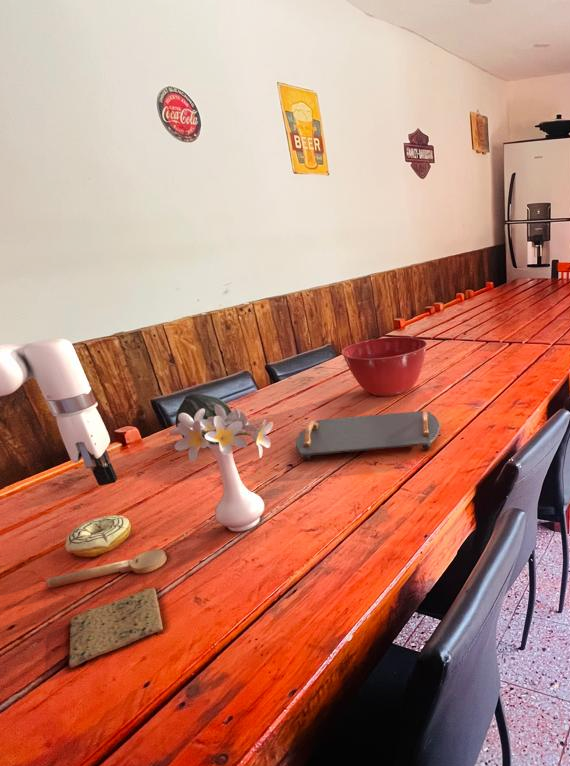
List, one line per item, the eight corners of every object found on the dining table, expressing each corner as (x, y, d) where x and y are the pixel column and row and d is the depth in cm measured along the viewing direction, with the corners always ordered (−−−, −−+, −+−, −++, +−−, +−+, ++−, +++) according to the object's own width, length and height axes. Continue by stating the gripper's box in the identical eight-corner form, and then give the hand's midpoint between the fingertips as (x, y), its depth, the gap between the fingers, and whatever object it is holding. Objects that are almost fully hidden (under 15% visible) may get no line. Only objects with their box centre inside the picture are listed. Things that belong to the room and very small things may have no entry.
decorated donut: (58, 563, 96) (50, 547, 95) (88, 531, 106) (81, 515, 104) (117, 555, 98) (110, 539, 96) (142, 524, 107) (135, 509, 106)
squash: (237, 405, 155) (190, 377, 145) (248, 421, 144) (197, 392, 134) (208, 442, 154) (158, 416, 144) (216, 462, 143) (163, 435, 133)
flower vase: (287, 534, 101) (258, 418, 91) (190, 546, 99) (147, 429, 88) (298, 500, 113) (273, 394, 102) (211, 510, 111) (176, 403, 100)
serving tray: (289, 466, 128) (284, 443, 126) (307, 429, 149) (303, 409, 146) (442, 452, 131) (440, 430, 129) (439, 418, 152) (437, 398, 149)
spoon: (42, 598, 88) (38, 590, 87) (53, 578, 93) (49, 570, 92) (164, 568, 94) (161, 560, 93) (168, 551, 98) (165, 543, 97)
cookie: (164, 629, 79) (162, 625, 79) (69, 669, 73) (66, 664, 73) (156, 588, 88) (154, 584, 88) (70, 620, 82) (68, 616, 82)
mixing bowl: (333, 391, 179) (325, 348, 172) (400, 372, 195) (395, 332, 189) (377, 411, 159) (370, 363, 153) (447, 387, 176) (444, 343, 170)
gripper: (62, 394, 106) (97, 471, 114) (36, 419, 94) (77, 503, 102) (104, 388, 108) (135, 463, 117) (83, 411, 96) (120, 494, 104)
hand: (108, 482), depth 109 cm, fingers closed
